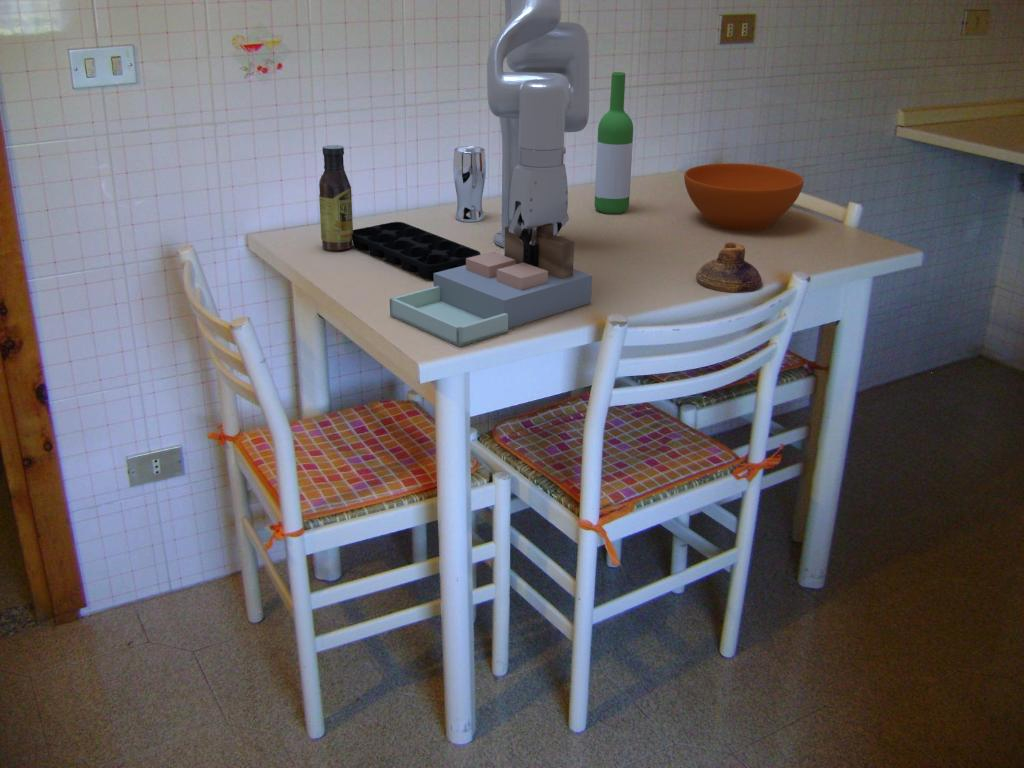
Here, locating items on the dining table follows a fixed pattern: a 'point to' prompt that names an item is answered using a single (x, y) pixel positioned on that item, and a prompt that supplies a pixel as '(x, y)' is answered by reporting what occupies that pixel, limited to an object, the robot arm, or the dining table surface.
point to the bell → (729, 271)
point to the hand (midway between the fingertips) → (538, 262)
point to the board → (512, 295)
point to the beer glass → (469, 182)
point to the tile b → (522, 276)
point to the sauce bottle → (335, 201)
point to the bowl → (742, 193)
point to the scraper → (545, 251)
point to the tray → (445, 318)
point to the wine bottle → (614, 153)
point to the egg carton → (412, 248)
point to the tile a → (488, 264)
